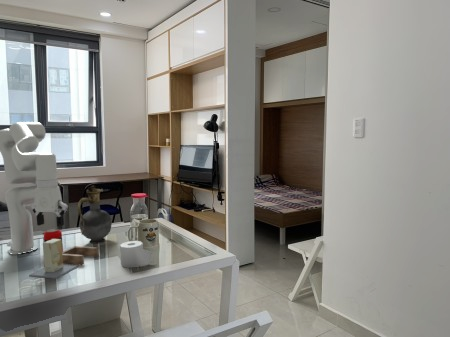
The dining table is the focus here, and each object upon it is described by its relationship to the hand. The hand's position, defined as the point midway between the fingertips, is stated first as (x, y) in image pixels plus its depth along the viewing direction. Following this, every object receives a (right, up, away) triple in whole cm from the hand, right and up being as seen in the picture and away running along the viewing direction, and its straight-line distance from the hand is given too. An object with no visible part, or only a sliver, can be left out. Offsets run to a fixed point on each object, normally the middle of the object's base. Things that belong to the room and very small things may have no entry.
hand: (50, 225), depth 144 cm
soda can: (-9, -18, +22) cm, 30 cm away
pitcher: (+3, -16, +40) cm, 43 cm away
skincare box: (+1, -19, +2) cm, 19 cm away
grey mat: (+1, -19, +2) cm, 19 cm away
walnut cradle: (+5, -18, +15) cm, 24 cm away
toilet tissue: (+33, -18, +7) cm, 38 cm away
